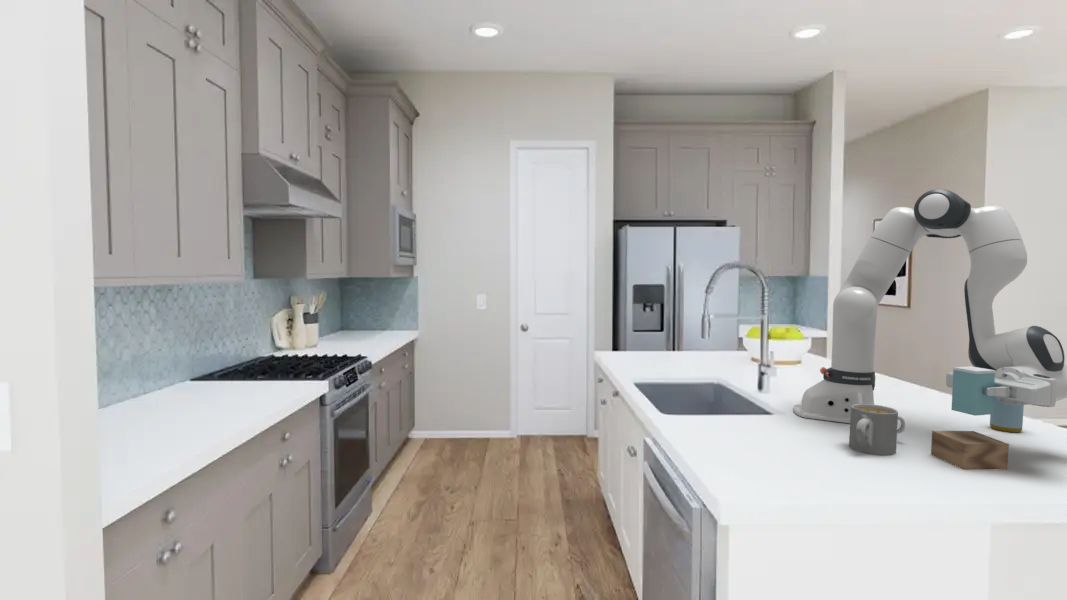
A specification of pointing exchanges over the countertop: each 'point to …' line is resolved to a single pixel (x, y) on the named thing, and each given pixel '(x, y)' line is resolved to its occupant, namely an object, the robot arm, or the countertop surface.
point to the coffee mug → (873, 429)
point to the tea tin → (972, 390)
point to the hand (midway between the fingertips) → (970, 388)
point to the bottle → (1006, 416)
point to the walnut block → (970, 450)
